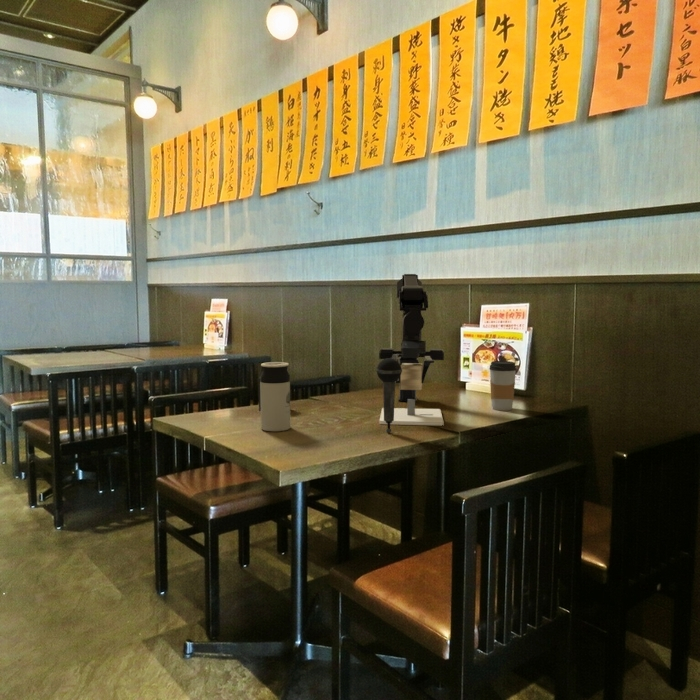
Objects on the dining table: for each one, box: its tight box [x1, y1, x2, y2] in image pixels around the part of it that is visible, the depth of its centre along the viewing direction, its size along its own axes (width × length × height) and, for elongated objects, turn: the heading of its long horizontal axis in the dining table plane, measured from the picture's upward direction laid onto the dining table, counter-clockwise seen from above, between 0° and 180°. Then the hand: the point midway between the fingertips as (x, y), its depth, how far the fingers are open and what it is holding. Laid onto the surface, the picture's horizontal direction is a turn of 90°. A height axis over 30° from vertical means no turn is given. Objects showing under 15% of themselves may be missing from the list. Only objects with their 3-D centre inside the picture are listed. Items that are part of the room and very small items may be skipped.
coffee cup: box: [489, 360, 517, 412], centre depth 182 cm, size 8×8×15 cm
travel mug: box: [259, 361, 291, 433], centre depth 156 cm, size 8×8×18 cm
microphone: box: [375, 358, 402, 434], centre depth 151 cm, size 7×7×20 cm
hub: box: [378, 399, 445, 426], centre depth 170 cm, size 18×18×6 cm
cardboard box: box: [399, 363, 423, 391], centre depth 169 cm, size 6×6×7 cm
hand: (411, 383), depth 169 cm, fingers closed on cardboard box, 6 cm apart
